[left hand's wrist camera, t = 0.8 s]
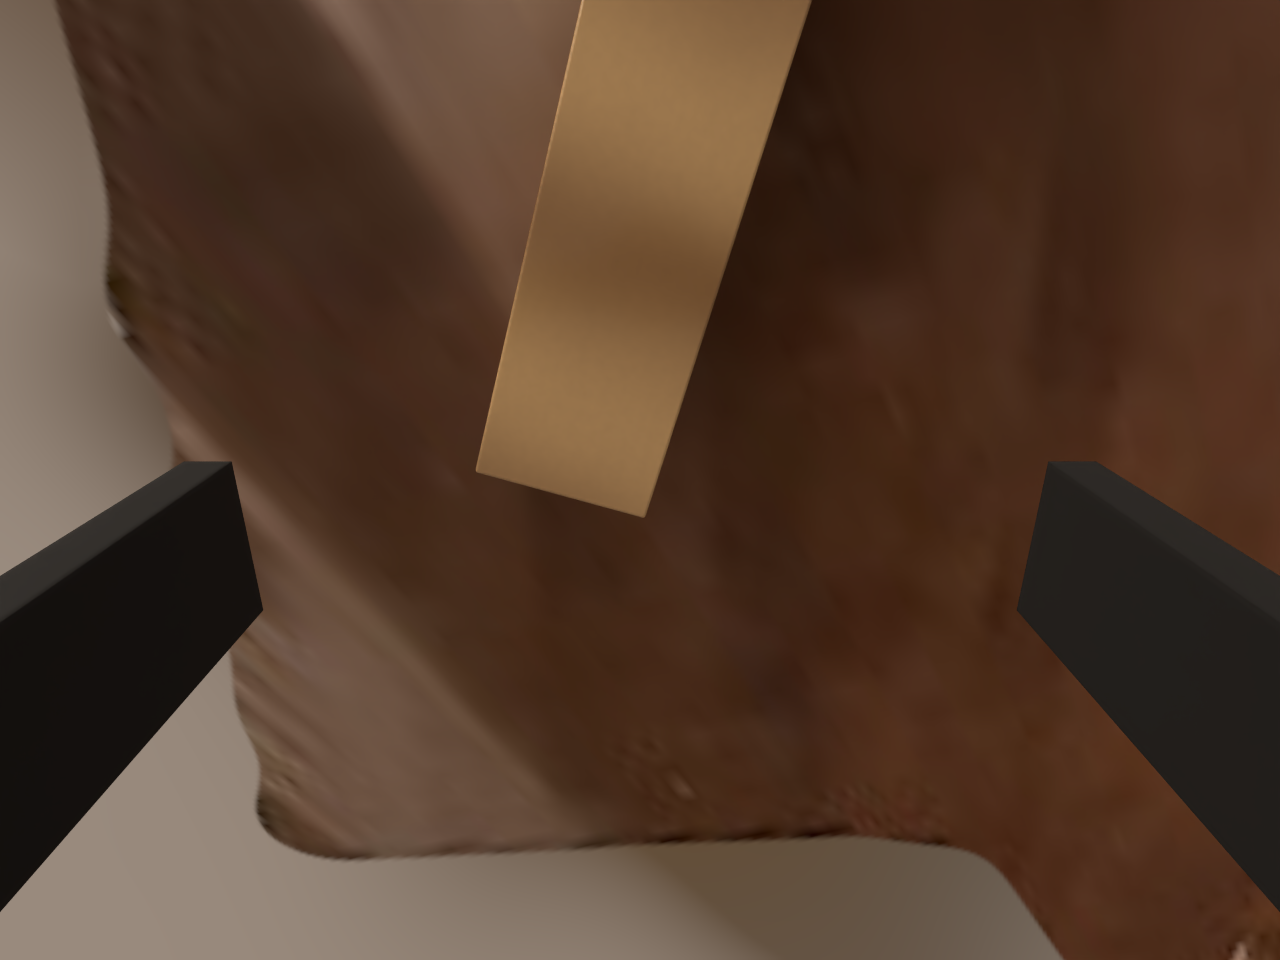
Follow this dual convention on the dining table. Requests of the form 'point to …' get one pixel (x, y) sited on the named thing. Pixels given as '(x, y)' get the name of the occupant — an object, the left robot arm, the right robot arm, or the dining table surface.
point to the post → (632, 238)
